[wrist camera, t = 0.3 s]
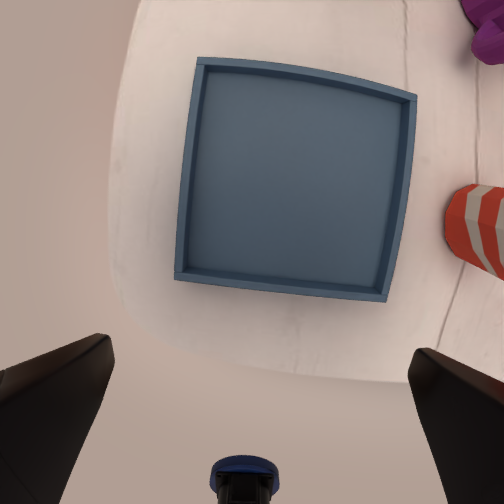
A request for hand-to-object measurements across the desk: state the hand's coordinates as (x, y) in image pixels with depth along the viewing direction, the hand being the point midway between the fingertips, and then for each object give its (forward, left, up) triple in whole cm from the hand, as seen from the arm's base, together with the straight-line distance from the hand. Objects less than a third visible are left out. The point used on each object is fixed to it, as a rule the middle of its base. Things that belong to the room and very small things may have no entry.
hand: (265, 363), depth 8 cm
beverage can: (+3, -17, -15) cm, 23 cm away
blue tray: (+5, -2, -15) cm, 16 cm away
